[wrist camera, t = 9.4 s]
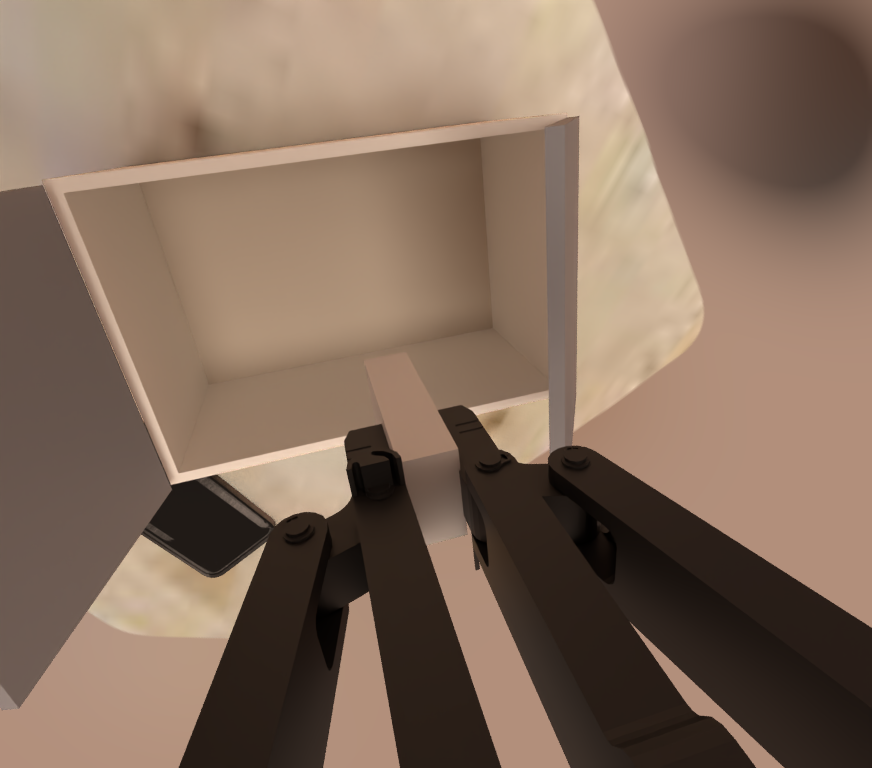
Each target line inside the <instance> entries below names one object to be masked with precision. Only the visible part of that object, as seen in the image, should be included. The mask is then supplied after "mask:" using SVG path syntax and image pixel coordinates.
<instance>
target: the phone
mask: <svg viewBox="0 0 872 768" xmlns="http://www.w3.org/2000/svg"><path fill="white" fill-rule="evenodd" d="M143 423H144V422H143ZM144 425H145V423H144ZM145 427H146V425H145ZM146 430H147V427H146ZM147 432H148V430H147ZM148 434H149V432H148ZM149 437H150V434H149ZM150 439H151V437H150ZM151 441H152V439H151ZM152 444H153V441H152ZM153 446H154V444H153ZM154 448H155V446H154ZM155 451H156V448H155ZM156 453H157V451H156ZM157 455H158V453H157ZM158 458H159V455H158ZM159 460H160V458H159ZM160 463H161V460H160ZM161 465H162V463H161ZM162 467H163V465H162ZM163 470H164V467H163ZM164 472H165V470H164ZM165 474H166V472H165ZM166 477H167V474H166ZM167 479H168V477H167ZM168 481H169V479H168ZM169 484H170V481H169ZM170 486H171V488H172V490H171V492H170V493H169V495H168V496H167V498H166V499H165V500H164V502H163V503H162V505H161V506H160V508H159V509H158V510H157V512H156V513H155V515H154V516H153V518H152V519H151V520H150V522H149V523H148V525H147V526H146V528H145V529H144V530H143V532H142V533H141V535H143V536H144V537H146V538H147V539H149V540H151V541H152V542H154V543H155V544H157V545H158V546H160V547H161V548H163V549H164V550H166V551H167V552H169V553H170V554H172V555H173V556H175V557H177V558H178V559H180V560H181V561H183V562H184V563H186V564H187V565H189V566H190V567H192V568H193V569H195V570H196V571H198V572H199V573H201V574H203V575H204V576H206V577H211V578H215V577H219V576H221V575H223V574H225V573H226V572H227V571H229V570H230V569H231V568H233V567H234V566H235V565H236V564H238V563H239V562H240V561H242V560H243V559H244V558H246V557H247V556H248V555H250V554H251V553H252V552H254V551H255V550H256V549H258V548H259V547H260V546H261V545H263V544H264V543H265V542H267V540H268V538H269V535H270V533H271V532H272V530H273V529H274V527H275V522H274V520H273V519H272V518H271V517H270V516H268V515H267V514H266V513H265V512H263V511H262V510H261V509H260V508H258V507H257V506H256V505H255V504H253V503H252V502H251V501H249V500H248V499H247V498H246V497H244V496H243V495H242V494H241V493H239V492H238V491H237V490H235V489H234V488H233V487H232V486H230V485H229V484H228V483H227V482H225V481H224V480H223V479H221V478H220V477H219V476H218V475H212V476H207V477H203V478H199V479H194V480H190V481H185V482H181V483H177V484H172V485H171V484H170Z"/></svg>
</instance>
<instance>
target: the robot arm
mask: <svg viewBox="0 0 872 768" xmlns="http://www.w3.org/2000/svg"><path fill="white" fill-rule="evenodd" d="M364 364H365V370H366V375H367V380H368V386H369V391H370V396H371V401H372V407H373V412H374V417H375V423H376V425H374V426H369V427H365V428H360V429H356V430H351V431H349V432H348V434H347V436H346V438H345V440H344V445H345V451H346V456H347V462H348V464H347V469H346V471H347V475H348V480H349V484H350V488H351V493H352V497H351V499H350V501H349V503H348V504H347V505H346V506H345V507H344V508H343V509H342V510H341V511H339V512H338V513H336V514H334V515H332V516H330V517H328V518H326V519H325V518H324V517H323V516H322V515H320V514H317V513H313V512H303V513H299V514H294V515H292V516H290V517H288V518H286V519H283V520H282V521H281V522H280V523H279V524H277V525H276V526H275V527H274V529H273V530H272V532H271V533H270V535H269V538H268V540H267V543H266V545H265V548H264V550H263V553H262V556H261V558H260V561H259V563H258V566H257V568H256V571H255V574H254V576H253V579H252V581H251V584H250V586H249V589H248V591H247V594H246V597H245V599H244V602H243V604H242V607H241V609H240V612H239V615H238V617H237V620H236V622H235V625H234V627H233V630H232V633H231V635H230V638H229V640H228V643H227V645H226V648H225V650H224V653H223V656H222V658H221V661H220V664H219V666H218V668H217V671H216V674H215V676H214V679H213V681H212V684H211V686H210V689H209V691H208V694H207V697H206V699H205V702H204V704H203V707H202V709H201V712H200V715H199V717H198V720H197V722H196V725H195V728H194V730H193V733H192V736H191V738H190V740H189V743H188V745H187V748H186V751H185V753H184V756H183V758H182V761H181V763H180V766H179V768H323V764H324V759H325V753H326V746H327V740H328V734H329V728H330V722H331V716H332V710H333V704H334V698H335V692H336V686H337V680H338V674H339V668H340V662H341V656H342V650H343V644H344V638H345V631H346V626H347V619H348V614H349V603H350V602H352V601H354V600H355V599H357V598H359V597H360V596H362V595H364V594H365V593H367V592H369V594H370V599H371V605H372V611H373V616H374V621H375V628H376V633H377V639H378V645H379V650H380V656H381V662H382V667H383V673H384V678H385V684H386V690H387V696H388V700H389V707H390V713H391V719H392V724H393V730H394V735H395V741H396V747H397V753H398V758H399V764H400V768H501V765H500V762H499V759H498V757H497V753H496V751H495V748H494V744H493V742H492V739H491V736H490V733H489V730H488V727H487V724H486V721H485V718H484V715H483V712H482V709H481V706H480V703H479V700H478V697H477V694H476V691H475V688H474V685H473V683H472V679H471V676H470V673H469V670H468V667H467V664H466V662H465V659H464V656H463V653H462V650H461V647H460V644H459V641H458V638H457V635H456V632H455V630H454V626H453V623H452V620H451V617H450V614H449V611H448V608H447V605H446V603H445V600H444V596H443V593H442V590H441V587H440V585H439V582H438V579H437V576H436V573H435V570H434V567H433V564H432V561H431V558H430V555H429V552H428V549H427V545H431V544H434V543H438V542H442V541H446V540H449V539H453V538H457V537H461V536H464V535H467V525H466V521H467V523H468V525H469V527H470V530H471V533H472V542H473V552H474V561H475V569H476V570H479V569H480V566H479V562H480V564H481V566H482V569H483V571H484V573H485V576H486V578H487V580H488V582H489V584H490V587H491V589H492V591H493V594H494V596H495V598H496V600H497V603H498V605H499V607H500V609H501V612H502V614H503V616H504V618H505V621H506V623H507V625H508V627H509V630H510V632H511V634H512V637H513V639H514V641H515V643H516V645H517V648H518V650H519V652H520V655H521V657H522V659H523V661H524V664H525V666H526V668H527V670H528V672H529V675H530V677H531V679H532V682H533V684H534V686H535V688H536V691H537V693H538V695H539V697H540V700H541V702H542V704H543V706H544V709H545V711H546V713H547V716H548V718H549V720H550V722H551V725H552V727H553V729H554V731H555V734H556V736H557V738H558V740H559V743H560V745H561V747H562V749H563V752H564V754H565V756H566V759H567V761H568V763H569V765H570V767H571V768H756V767H755V766H754V764H753V763H752V762H751V760H750V759H749V758H748V756H747V755H746V753H745V752H744V751H743V749H742V748H741V747H740V746H739V744H738V743H737V741H736V740H735V739H734V737H733V736H732V735H731V734H730V733H729V732H728V731H727V729H726V728H725V727H724V726H723V725H722V724H721V723H719V722H718V721H716V720H715V719H714V718H712V717H709V716H699V715H697V714H696V713H695V712H693V711H692V710H691V708H690V707H689V706H688V705H687V703H686V702H685V701H684V699H683V698H682V696H681V695H680V693H679V692H678V691H677V689H676V688H675V687H674V685H673V683H672V682H671V681H670V679H669V678H668V676H667V675H666V673H665V672H664V671H663V669H662V668H661V666H660V665H659V663H658V662H657V661H656V659H655V658H654V656H653V655H652V654H651V652H650V651H649V649H648V648H647V646H646V645H645V643H644V642H643V641H642V639H641V638H640V636H639V635H638V634H637V632H636V631H635V629H634V628H633V626H632V625H631V623H632V624H633V625H634V626H635V627H636V628H637V629H638V630H639V631H640V632H641V633H642V634H643V635H644V636H645V637H646V638H648V639H649V640H650V641H651V642H652V643H653V644H654V645H655V646H656V647H657V648H658V649H659V650H660V651H661V652H662V653H663V654H664V655H666V656H667V657H668V658H669V659H670V660H671V661H672V662H673V663H674V664H675V665H676V666H677V667H678V668H679V669H680V670H682V672H684V673H685V674H686V675H687V676H688V677H689V678H690V679H691V680H692V681H693V682H694V683H695V684H696V685H697V686H698V687H699V688H701V689H702V690H703V691H704V692H705V693H706V694H707V695H708V696H709V697H710V698H711V699H712V700H713V701H714V702H715V703H716V704H717V705H719V706H720V707H721V708H722V709H723V710H724V711H725V712H726V713H727V714H728V715H729V716H730V717H731V718H732V719H733V720H734V721H736V722H737V723H738V724H739V725H740V726H741V727H742V728H743V729H744V730H745V731H746V732H747V733H748V734H749V735H750V736H751V737H753V738H754V739H755V740H756V741H757V742H758V743H759V744H760V745H761V746H762V747H763V748H764V749H765V750H766V751H767V752H768V753H769V754H771V755H772V756H773V757H774V758H775V759H776V760H777V761H778V762H779V763H780V764H781V765H782V766H783V767H785V768H872V628H871V627H869V626H868V625H866V624H865V623H863V622H862V621H860V620H858V619H857V618H855V617H854V616H852V615H851V614H849V613H848V612H846V611H844V610H843V609H841V608H840V607H838V606H837V605H835V604H834V603H832V602H830V601H829V600H827V599H826V598H824V597H823V596H821V595H819V594H818V593H816V592H815V591H813V590H812V589H810V588H808V587H807V586H805V585H804V584H802V583H801V582H799V581H798V580H796V579H794V578H792V577H791V576H790V575H788V574H787V573H785V572H783V571H782V570H780V569H779V568H777V567H776V566H774V565H772V564H771V563H769V562H768V561H766V560H765V559H763V558H762V557H760V556H758V555H757V554H755V553H754V552H752V551H750V550H749V549H747V548H746V547H744V546H743V545H741V544H740V543H738V542H737V541H735V540H733V539H732V538H730V537H729V536H727V535H726V534H724V533H722V532H721V531H719V530H718V529H716V528H715V527H713V526H711V525H710V524H708V523H707V522H705V521H704V520H702V519H701V518H699V517H697V516H696V515H694V514H693V513H691V512H690V511H688V510H686V509H685V508H683V507H682V506H680V505H679V504H677V503H676V502H674V501H672V500H671V499H669V498H668V497H666V496H664V495H663V494H661V493H660V492H658V491H657V490H655V489H653V488H652V487H650V486H649V485H647V484H646V483H644V482H643V481H641V480H640V479H638V478H636V477H635V476H633V475H632V474H630V473H628V472H627V471H625V470H624V469H622V468H621V467H619V466H618V465H616V464H614V463H613V462H611V461H610V460H608V459H606V458H605V457H603V456H602V455H600V454H599V453H597V452H596V451H593V450H591V449H589V448H587V447H581V446H565V447H561V448H558V449H556V450H555V451H553V452H552V453H551V454H550V456H549V457H548V464H522V463H518V462H517V460H516V459H515V458H514V457H513V456H512V455H511V454H510V453H508V452H505V451H503V450H499V449H498V448H497V446H496V445H495V443H494V442H493V440H492V439H491V437H490V436H489V434H488V433H487V432H486V430H485V429H484V428H483V426H482V424H481V423H480V421H479V420H478V418H477V417H476V415H475V414H474V412H473V411H472V410H470V409H468V408H466V407H464V406H463V405H458V406H454V407H449V408H445V409H440V410H437V409H436V407H435V405H434V403H433V401H432V399H431V398H430V396H429V394H428V392H427V390H426V388H425V386H424V385H423V383H422V381H421V379H420V377H419V375H418V374H417V372H416V370H415V368H414V366H413V364H412V363H411V361H410V359H409V357H408V355H407V353H406V352H402V353H397V354H392V355H387V356H382V357H377V358H372V359H367V360H364ZM630 622H631V623H630Z"/></svg>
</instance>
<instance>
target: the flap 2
mask: <svg viewBox="0 0 872 768" xmlns="http://www.w3.org/2000/svg"><path fill="white" fill-rule="evenodd" d="M578 179H579V116H576V117H568V118H565V119H562V120H560V121H558V122H556V123H553V124H551V125H549V126H546V127H545V187H546V250H547V313H548V376H549V439H550V454H551V453H552V452H553V451H555V450H556V449H558V448H561V447H565V446H572V437H573V426H574V414H575V403H576V362H577V271H578Z"/></svg>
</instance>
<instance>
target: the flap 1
mask: <svg viewBox="0 0 872 768" xmlns="http://www.w3.org/2000/svg"><path fill="white" fill-rule="evenodd" d="M171 490H172V488H171V486H170V484H169V481H168V479H167V477H166V474H165V472H164V470H163V467H162V465H161V463H160V460H159V458H158V455H157V453H156V451H155V448H154V446H153V444H152V441H151V439H150V437H149V434H148V432H147V430H146V427H145V425H144V423H143V420H142V418H141V415H140V413H139V411H138V408H137V406H136V404H135V401H134V399H133V397H132V394H131V392H130V390H129V387H128V385H127V383H126V380H125V378H124V375H123V373H122V371H121V368H120V366H119V364H118V361H117V359H116V357H115V354H114V352H113V350H112V347H111V345H110V343H109V340H108V338H107V335H106V333H105V331H104V328H103V326H102V324H101V321H100V319H99V317H98V314H97V312H96V310H95V307H94V305H93V303H92V300H91V298H90V295H89V293H88V291H87V288H86V286H85V284H84V281H83V279H82V277H81V274H80V272H79V270H78V267H77V265H76V263H75V260H74V258H73V256H72V253H71V251H70V248H69V246H68V244H67V241H66V239H65V237H64V234H63V232H62V230H61V227H60V225H59V223H58V220H57V218H56V216H55V213H54V211H53V208H52V206H51V204H50V201H49V199H48V197H47V194H46V192H45V190H44V187H43V186H35V187H27V188H21V189H14V190H8V191H2V192H0V708H1V709H2V710H7V709H19V708H20V706H21V705H22V704H23V702H24V701H25V699H26V698H27V696H28V695H29V694H30V692H31V691H32V689H33V688H34V686H35V685H36V684H37V682H38V681H39V679H40V678H41V676H42V675H43V673H44V672H45V671H46V669H47V668H48V666H49V665H50V664H51V662H52V661H53V659H54V658H55V656H56V655H57V654H58V652H59V651H60V649H61V648H62V646H63V645H64V643H65V642H66V640H67V639H68V638H69V636H70V635H71V633H72V632H73V631H74V629H75V628H76V626H77V625H78V623H79V622H80V621H81V619H82V618H83V616H84V615H85V613H86V612H87V611H88V609H89V608H90V606H91V605H92V603H93V602H94V601H95V599H96V598H97V596H98V595H99V593H100V592H101V591H102V589H103V588H104V586H105V585H106V583H107V582H108V581H109V579H110V578H111V576H112V575H113V573H114V572H115V571H116V569H117V568H118V566H119V565H120V563H121V562H122V560H123V559H124V558H125V556H126V555H127V553H128V552H129V550H130V549H131V548H132V546H133V545H134V543H135V542H136V540H137V539H138V538H139V536H140V535H141V533H142V532H143V530H144V529H145V528H146V526H147V525H148V523H149V522H150V520H151V519H152V518H153V516H154V515H155V513H156V512H157V510H158V509H159V508H160V506H161V505H162V503H163V502H164V500H165V499H166V498H167V496H168V495H169V493H170V492H171Z"/></svg>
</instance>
